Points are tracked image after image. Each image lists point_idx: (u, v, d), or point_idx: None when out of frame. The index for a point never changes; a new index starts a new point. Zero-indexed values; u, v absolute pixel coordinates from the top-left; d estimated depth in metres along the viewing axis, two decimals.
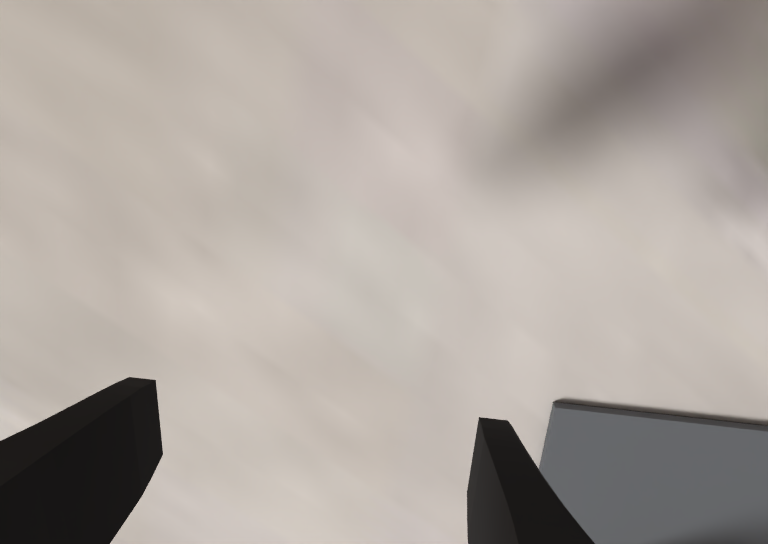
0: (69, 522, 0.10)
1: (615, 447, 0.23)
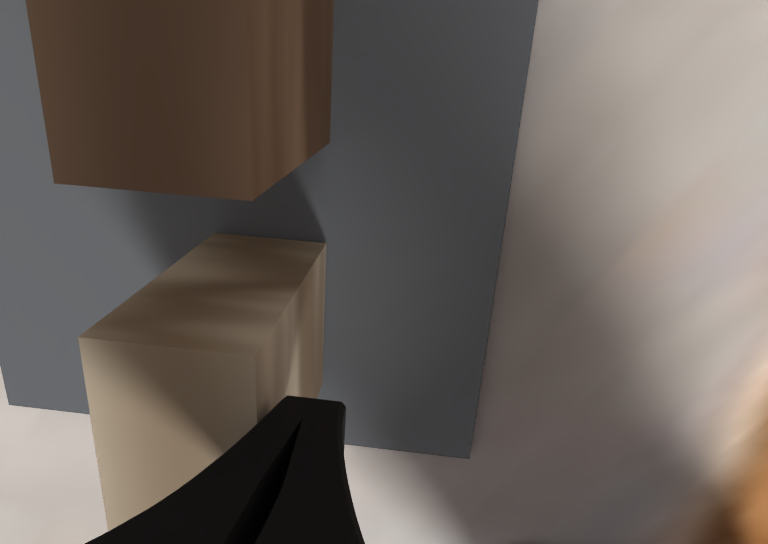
0: None
1: (38, 344, 0.19)
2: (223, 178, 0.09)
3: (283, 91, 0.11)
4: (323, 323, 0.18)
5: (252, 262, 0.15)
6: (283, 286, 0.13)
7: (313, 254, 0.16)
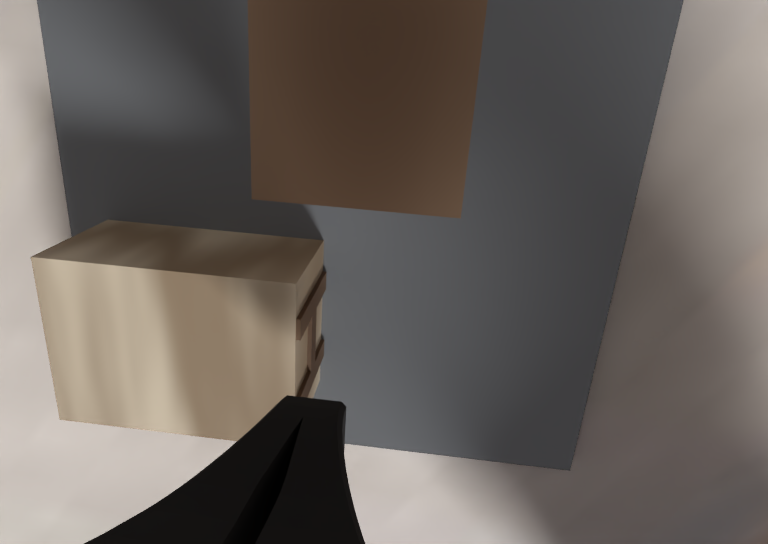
0: None
1: None
2: (433, 195, 0.09)
3: None
4: (289, 375, 0.15)
5: (232, 254, 0.15)
6: (163, 264, 0.14)
7: (254, 277, 0.14)
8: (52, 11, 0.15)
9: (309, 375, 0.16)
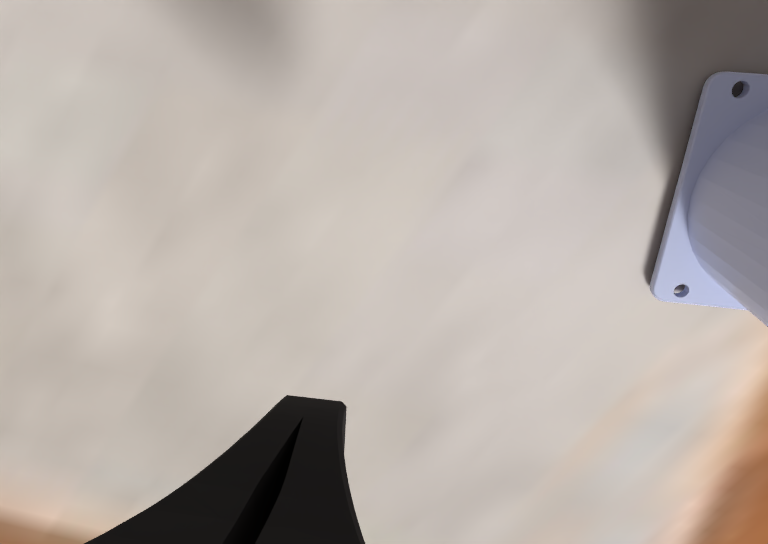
0: None
1: None
2: None
3: None
4: None
5: None
6: None
7: None
8: None
9: None
